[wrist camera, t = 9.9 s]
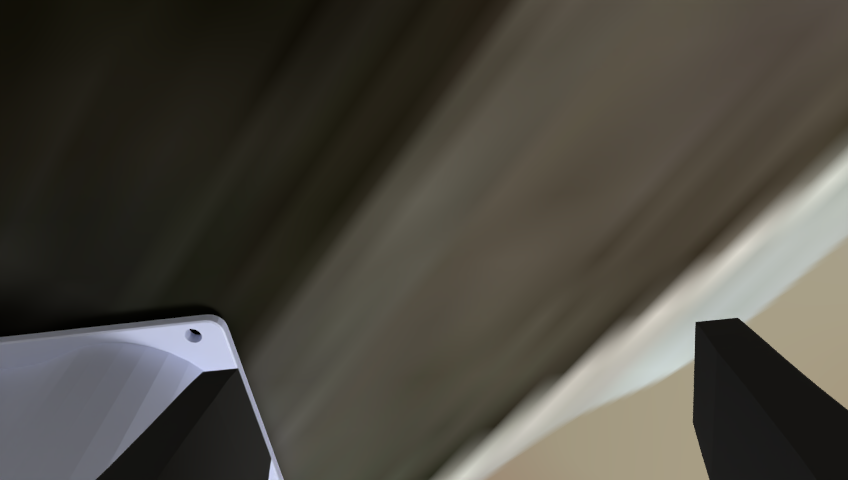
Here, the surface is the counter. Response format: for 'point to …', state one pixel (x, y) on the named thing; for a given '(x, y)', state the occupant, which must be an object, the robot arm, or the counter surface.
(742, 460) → the robot arm
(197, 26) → the counter surface
